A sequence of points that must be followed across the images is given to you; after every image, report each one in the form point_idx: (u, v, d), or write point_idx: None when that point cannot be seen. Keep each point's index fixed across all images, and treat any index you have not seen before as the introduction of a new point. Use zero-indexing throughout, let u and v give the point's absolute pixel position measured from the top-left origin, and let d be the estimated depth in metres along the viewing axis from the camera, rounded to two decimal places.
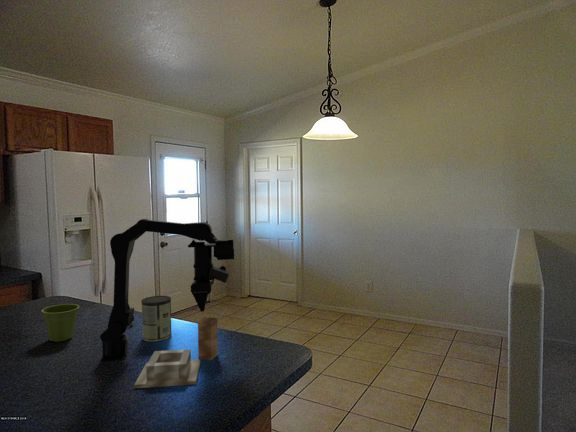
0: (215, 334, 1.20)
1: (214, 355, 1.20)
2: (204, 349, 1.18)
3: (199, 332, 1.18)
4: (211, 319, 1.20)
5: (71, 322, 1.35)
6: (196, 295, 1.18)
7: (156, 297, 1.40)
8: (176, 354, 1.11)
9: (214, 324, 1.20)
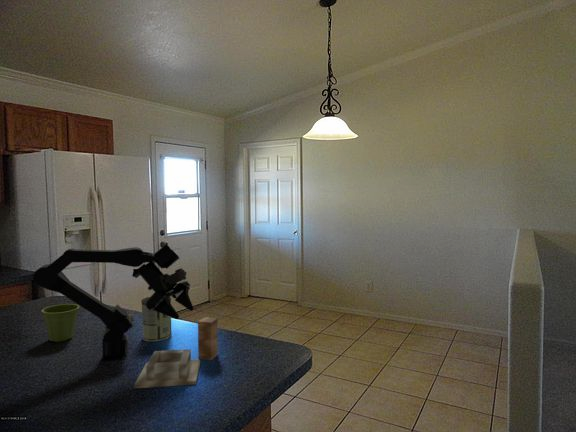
0: (215, 334, 1.20)
1: (214, 355, 1.20)
2: (204, 349, 1.18)
3: (199, 332, 1.18)
4: (211, 319, 1.20)
5: (71, 322, 1.35)
6: (160, 309, 1.17)
7: None
8: (176, 354, 1.11)
9: (214, 324, 1.20)
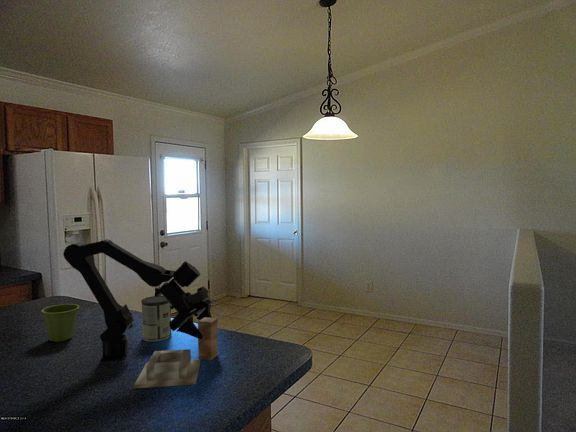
0: (215, 334, 1.20)
1: (214, 355, 1.20)
2: (204, 349, 1.18)
3: None
4: (211, 319, 1.20)
5: (71, 322, 1.35)
6: (184, 330, 1.15)
7: (156, 297, 1.40)
8: (176, 354, 1.11)
9: (214, 324, 1.20)
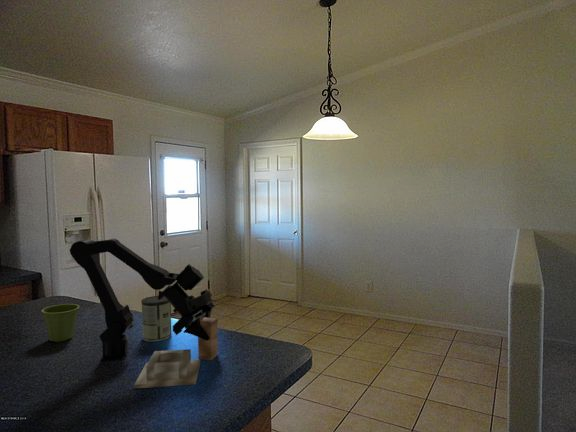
0: (215, 334, 1.20)
1: (214, 355, 1.20)
2: (204, 349, 1.18)
3: None
4: (211, 319, 1.20)
5: (71, 322, 1.35)
6: (190, 331, 1.17)
7: (156, 297, 1.40)
8: (176, 354, 1.11)
9: (214, 324, 1.20)
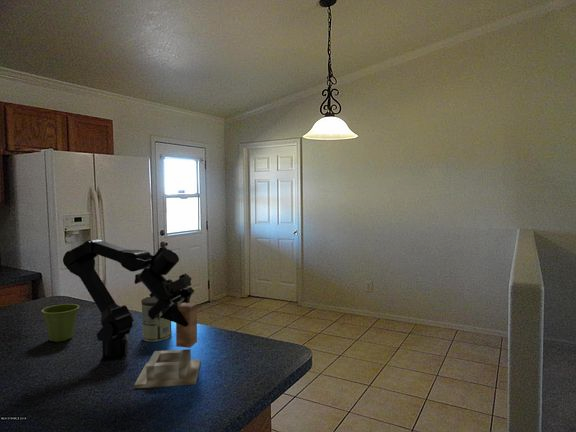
0: (194, 320, 1.13)
1: (193, 342, 1.13)
2: (183, 336, 1.11)
3: None
4: (190, 304, 1.13)
5: (71, 322, 1.35)
6: (168, 316, 1.09)
7: None
8: (176, 354, 1.11)
9: (194, 310, 1.13)
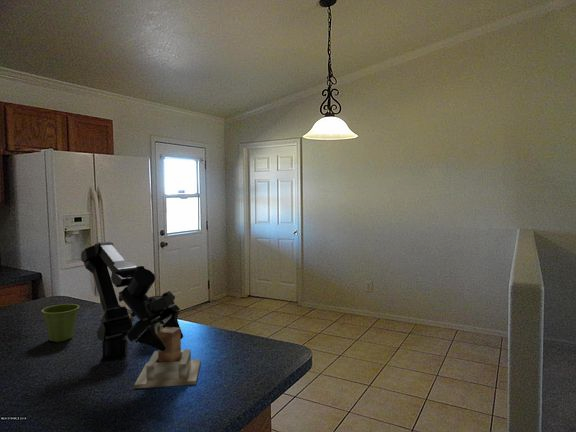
0: (178, 346, 1.08)
1: None
2: None
3: None
4: (173, 329, 1.08)
5: (71, 322, 1.35)
6: (144, 340, 1.02)
7: (156, 297, 1.40)
8: None
9: (177, 335, 1.07)
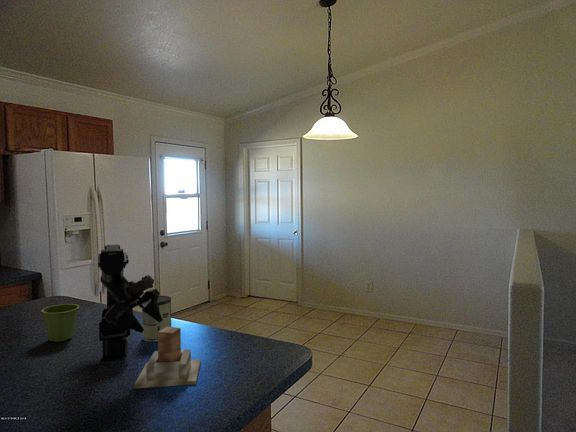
0: (178, 346, 1.08)
1: None
2: None
3: (159, 344, 1.06)
4: (173, 329, 1.08)
5: (71, 322, 1.35)
6: (122, 322, 1.04)
7: None
8: None
9: (177, 335, 1.07)
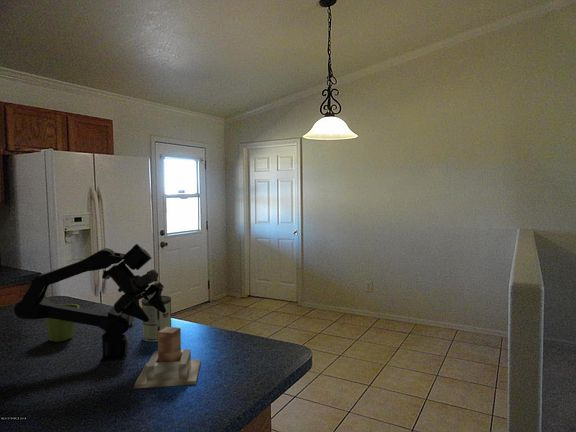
0: (178, 346, 1.08)
1: None
2: None
3: (159, 344, 1.06)
4: (173, 329, 1.08)
5: (71, 322, 1.35)
6: (129, 312, 1.13)
7: None
8: None
9: (177, 335, 1.07)
